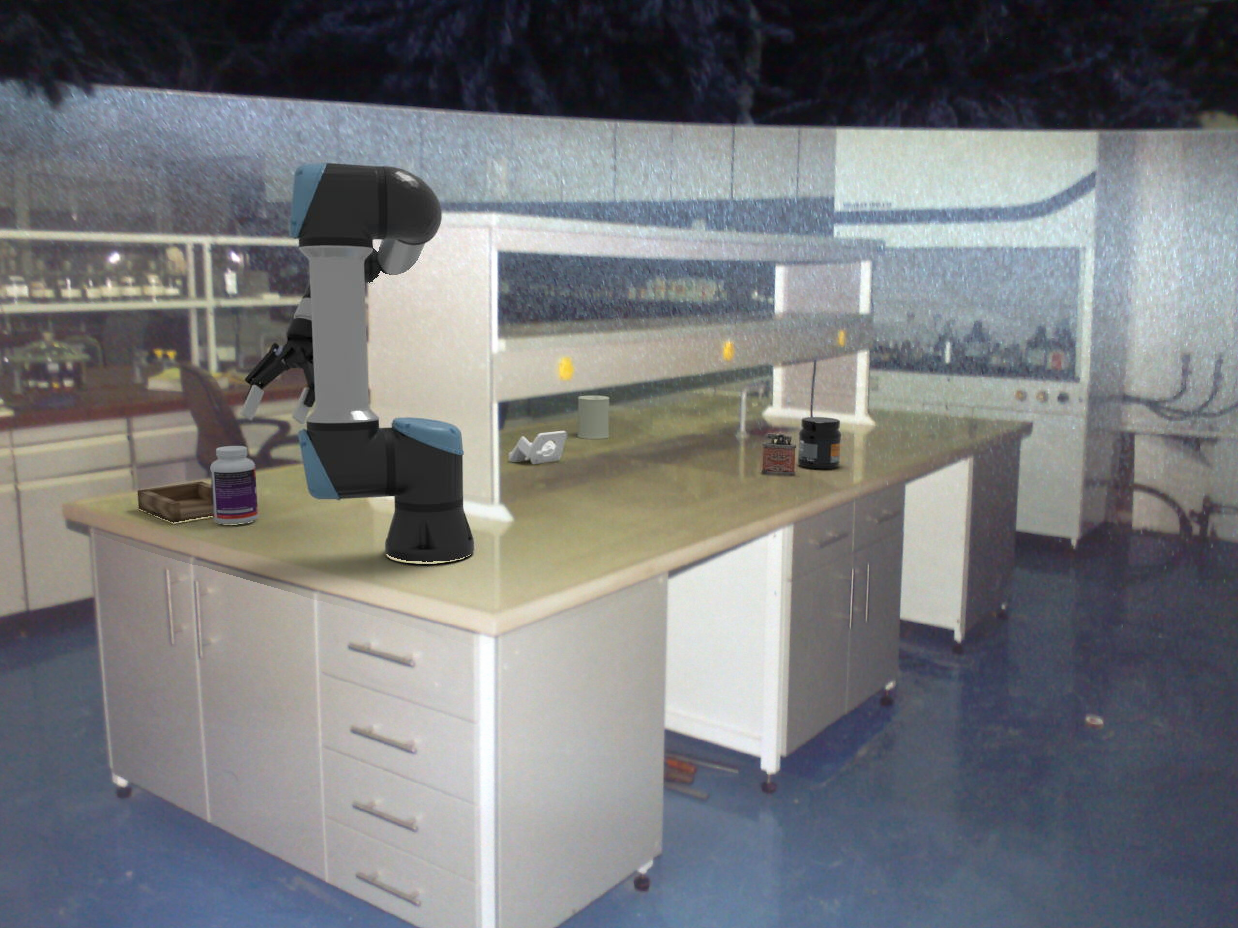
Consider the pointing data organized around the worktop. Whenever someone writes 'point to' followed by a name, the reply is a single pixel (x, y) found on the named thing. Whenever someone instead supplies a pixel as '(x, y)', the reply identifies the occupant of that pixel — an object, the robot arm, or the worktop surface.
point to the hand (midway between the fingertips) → (271, 419)
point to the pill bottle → (233, 486)
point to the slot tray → (178, 501)
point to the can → (593, 417)
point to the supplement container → (819, 443)
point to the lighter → (779, 455)
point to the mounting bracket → (539, 448)
